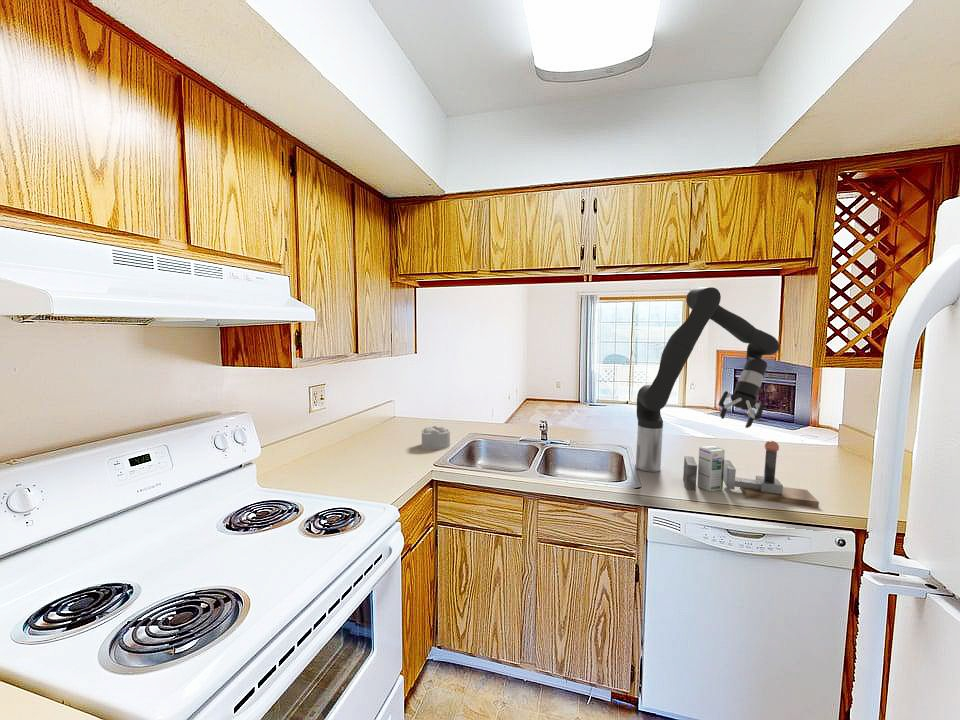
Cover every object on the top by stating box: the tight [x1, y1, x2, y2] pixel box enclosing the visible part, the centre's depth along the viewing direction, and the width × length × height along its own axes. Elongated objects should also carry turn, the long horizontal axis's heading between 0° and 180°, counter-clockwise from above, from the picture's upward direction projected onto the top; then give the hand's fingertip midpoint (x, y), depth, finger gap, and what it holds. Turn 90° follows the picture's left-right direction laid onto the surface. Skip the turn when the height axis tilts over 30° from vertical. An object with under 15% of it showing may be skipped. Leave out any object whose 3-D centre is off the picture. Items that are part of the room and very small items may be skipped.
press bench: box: [682, 455, 820, 509], centre depth 143 cm, size 38×10×9 cm, turn 69°
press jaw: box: [723, 440, 784, 494], centre depth 142 cm, size 16×10×17 cm, turn 69°
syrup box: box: [697, 445, 726, 492], centre depth 147 cm, size 6×6×14 cm
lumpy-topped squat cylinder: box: [421, 425, 451, 451], centre depth 192 cm, size 10×13×9 cm
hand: (734, 422), depth 158 cm, fingers open, 8 cm apart
